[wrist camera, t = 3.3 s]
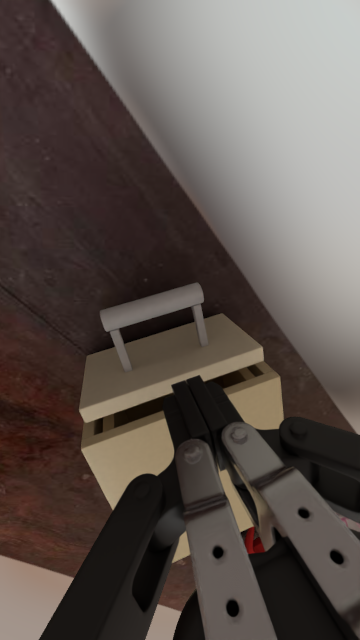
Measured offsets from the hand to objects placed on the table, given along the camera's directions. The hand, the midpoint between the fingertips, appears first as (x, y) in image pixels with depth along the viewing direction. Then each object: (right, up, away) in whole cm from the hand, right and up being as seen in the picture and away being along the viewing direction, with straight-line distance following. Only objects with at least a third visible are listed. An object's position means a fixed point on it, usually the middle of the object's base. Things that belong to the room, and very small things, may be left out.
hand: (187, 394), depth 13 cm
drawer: (-1, -2, +13) cm, 13 cm away
